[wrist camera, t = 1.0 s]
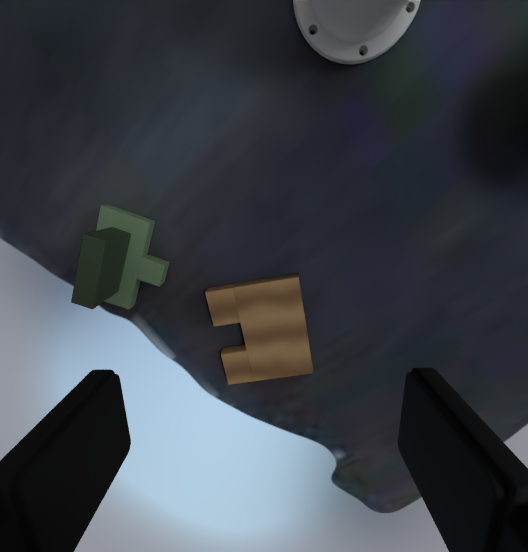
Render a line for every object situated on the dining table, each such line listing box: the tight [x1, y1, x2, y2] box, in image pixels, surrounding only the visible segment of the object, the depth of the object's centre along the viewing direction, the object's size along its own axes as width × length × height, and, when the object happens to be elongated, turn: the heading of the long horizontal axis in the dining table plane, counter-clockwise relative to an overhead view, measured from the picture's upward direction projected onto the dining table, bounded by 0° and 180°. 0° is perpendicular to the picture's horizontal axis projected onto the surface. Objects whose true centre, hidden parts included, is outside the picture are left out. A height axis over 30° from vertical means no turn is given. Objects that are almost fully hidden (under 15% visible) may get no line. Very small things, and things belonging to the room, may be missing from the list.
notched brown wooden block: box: [205, 273, 313, 385], centre depth 40 cm, size 14×12×2 cm
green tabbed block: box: [71, 205, 170, 310], centre depth 35 cm, size 12×9×8 cm
